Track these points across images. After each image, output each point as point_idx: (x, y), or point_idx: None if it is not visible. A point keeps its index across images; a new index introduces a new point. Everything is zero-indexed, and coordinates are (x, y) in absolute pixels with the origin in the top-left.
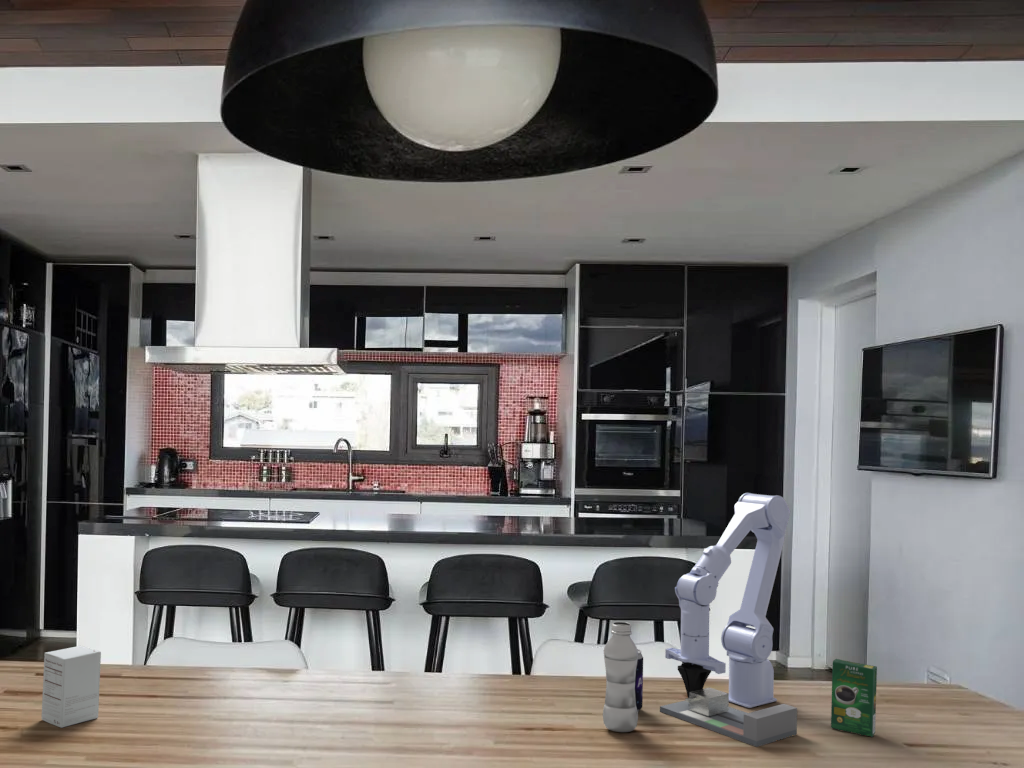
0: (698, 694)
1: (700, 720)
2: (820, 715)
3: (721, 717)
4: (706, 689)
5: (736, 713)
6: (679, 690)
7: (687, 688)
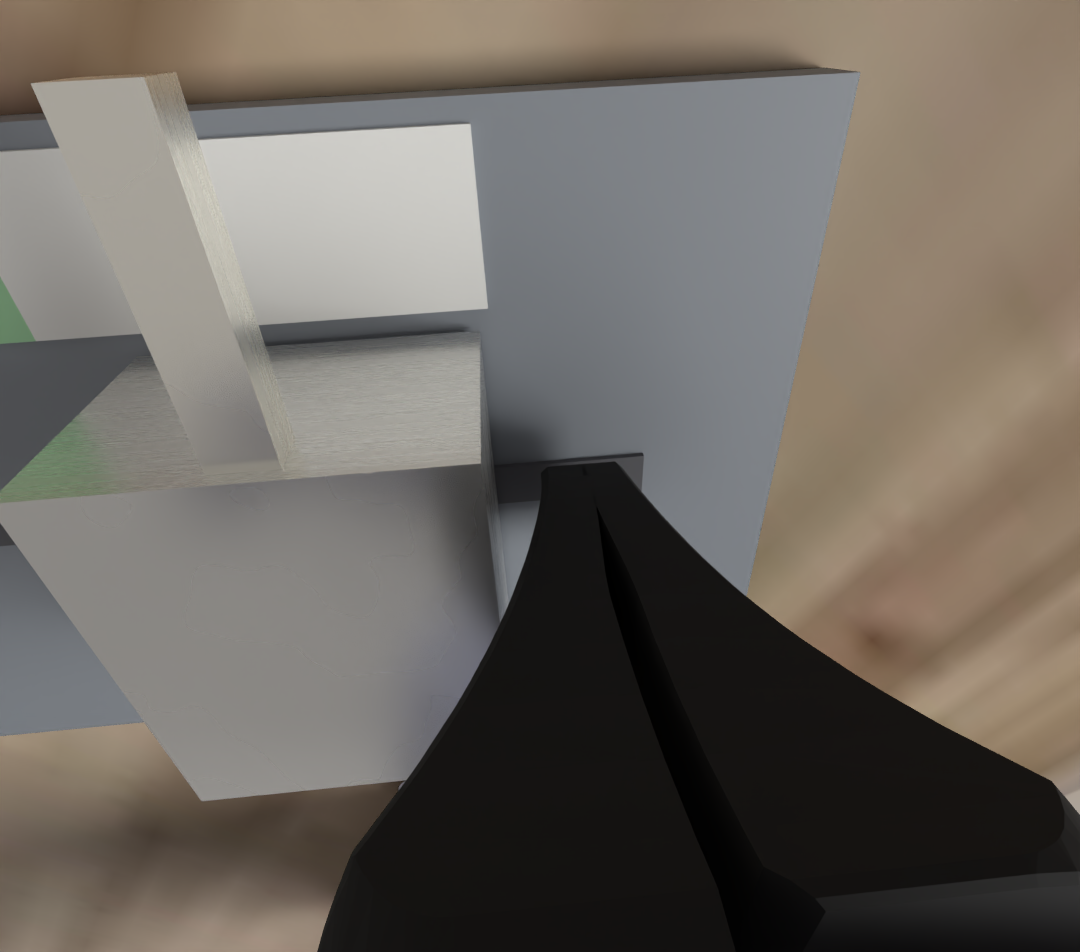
0: (278, 499)
1: (16, 141)
2: (159, 930)
3: None
4: None
5: None
6: (986, 666)
7: (645, 551)
